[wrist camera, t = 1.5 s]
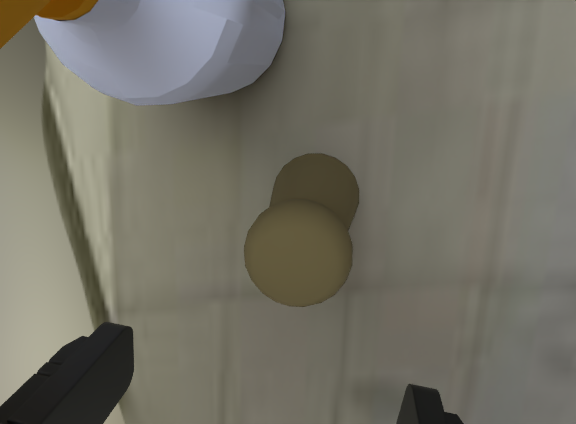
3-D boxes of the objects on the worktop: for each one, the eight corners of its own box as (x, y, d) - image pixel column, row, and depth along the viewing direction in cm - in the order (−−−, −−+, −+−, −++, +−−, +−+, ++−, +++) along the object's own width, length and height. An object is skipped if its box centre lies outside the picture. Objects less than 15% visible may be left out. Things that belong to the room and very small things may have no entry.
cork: (277, 147, 27) (230, 194, 17) (366, 160, 26) (375, 217, 16) (269, 228, 29) (223, 314, 19) (351, 242, 28) (350, 339, 18)
